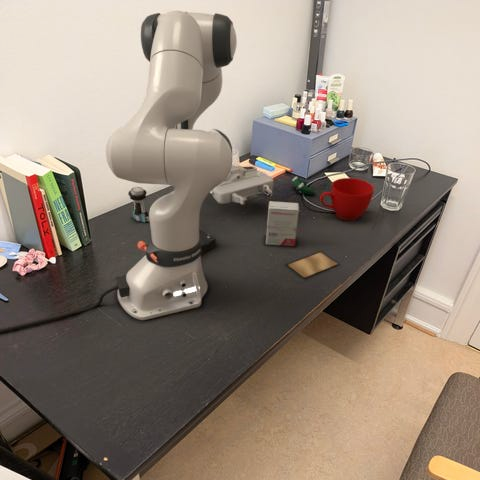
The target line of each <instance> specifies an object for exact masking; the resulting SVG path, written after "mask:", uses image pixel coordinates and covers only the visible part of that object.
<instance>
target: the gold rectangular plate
mask: <svg viewBox="0 0 480 480" xmlns="http://www.w3.org/2000/svg"><path fill="white" fill-rule="evenodd" d="M337 265H338V263H337V262H335V261H334V260H333V259H331V258H329V257H328V256H327V255H326V254H324V253H322V252H321V251H319V252H318V253H317V252H316V253H314V254H313V255H310V256H307V257H305V258H302V259H299V260H297V261H294V262H291V263H289V264H287V266H288V267H289V268H290V269H292V270H293V271H295V272H296V274H298V275H299V276H301V277H303V279H306V278H308V277H311V276H314V275H316V274H318V273H321V272H323V271H326V270H329V269H331V268H333V267H335V266H337Z"/></svg>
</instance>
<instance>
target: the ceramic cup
mask: <svg viewBox="0 0 480 480" xmlns="http://www.w3.org/2000/svg"><path fill="white" fill-rule="evenodd" d="M374 190H375V188H374V186H373V185H372V184H371V183H370V182H368V181H366V180H363V179H359V178H354V177H342V178H338V179H336V180H334V181H333V182H332V184H331V190H330V191H324V192H323V193H322V194H321V195H320V198H319V200H320V203H321V204H322V206H323V207H326V208H328V209H332V210H333V211H334V213H335V215H336V216H337V217H338V218H339V219H341V220H344V221H354V220H356V219H357V218H359V217H361V216H362V215H363V214H364V213H365V212H366V210H367V209H368V207H369V206H370V203H371V201H372V199H373V195H374V192H375V191H374ZM325 196H330V202H331V204H327V203H326V202H325V201H324V197H325Z"/></svg>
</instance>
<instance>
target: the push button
mask: <svg viewBox="0 0 480 480" xmlns="http://www.w3.org/2000/svg"><path fill="white" fill-rule="evenodd" d="M147 193H148V192H147V190H145V189H144V188H143V187H141V186H134V187H131V188H130V190H129V191H128V196H129V198H130V200H132V202H133V207H134V208H133V210H132V217H133V219H134V220H136V221H137V222H142V223H146V222H149V223H150V219H149V212H148V211H146V208H145V199H146V198H147Z"/></svg>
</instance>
